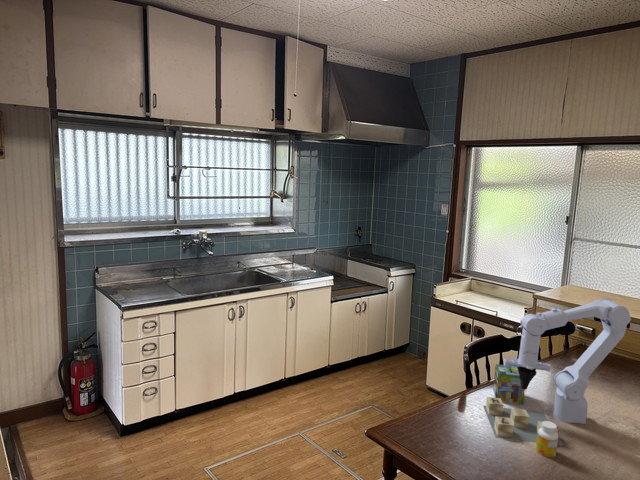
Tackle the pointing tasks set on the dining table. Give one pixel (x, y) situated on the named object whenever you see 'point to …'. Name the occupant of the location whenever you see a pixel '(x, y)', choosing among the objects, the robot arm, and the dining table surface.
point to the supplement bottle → (547, 439)
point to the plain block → (519, 418)
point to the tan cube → (540, 426)
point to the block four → (494, 406)
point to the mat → (521, 433)
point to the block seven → (503, 426)
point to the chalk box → (508, 384)
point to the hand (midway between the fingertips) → (523, 388)
